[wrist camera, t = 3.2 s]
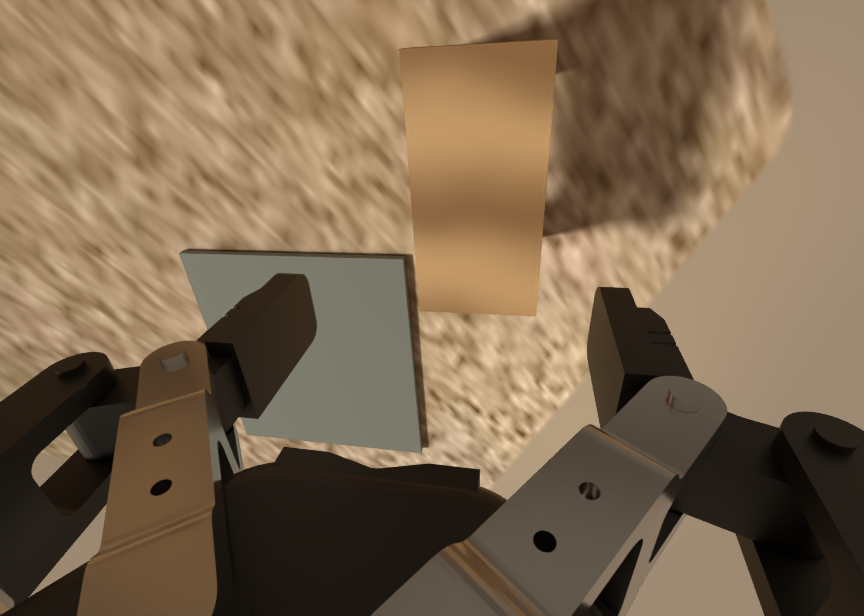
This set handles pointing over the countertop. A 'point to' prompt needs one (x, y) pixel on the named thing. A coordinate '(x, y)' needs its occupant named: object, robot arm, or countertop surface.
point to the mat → (330, 345)
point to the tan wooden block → (478, 171)
